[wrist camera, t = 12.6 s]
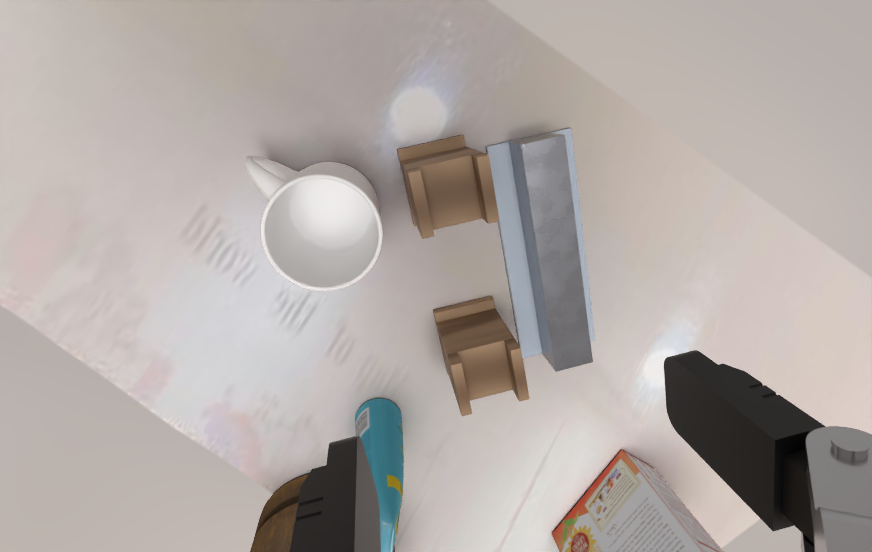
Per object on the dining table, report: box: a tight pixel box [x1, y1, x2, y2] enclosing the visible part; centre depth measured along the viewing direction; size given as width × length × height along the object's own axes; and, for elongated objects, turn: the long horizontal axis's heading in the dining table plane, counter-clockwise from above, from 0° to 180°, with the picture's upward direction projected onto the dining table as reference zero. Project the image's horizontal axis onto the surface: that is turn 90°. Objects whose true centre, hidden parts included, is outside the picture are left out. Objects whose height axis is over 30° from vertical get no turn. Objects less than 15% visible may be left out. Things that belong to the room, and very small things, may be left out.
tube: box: [355, 398, 404, 552], centre depth 45 cm, size 7×5×19 cm, turn 177°
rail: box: [509, 133, 593, 371], centre depth 48 cm, size 22×4×4 cm, turn 12°
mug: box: [244, 156, 383, 291], centre depth 41 cm, size 9×12×11 cm
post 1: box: [397, 135, 500, 239], centre depth 42 cm, size 7×6×10 cm
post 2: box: [433, 296, 529, 416], centre depth 47 cm, size 7×6×10 cm
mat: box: [486, 128, 595, 358], centre depth 50 cm, size 22×8×1 cm, turn 11°
